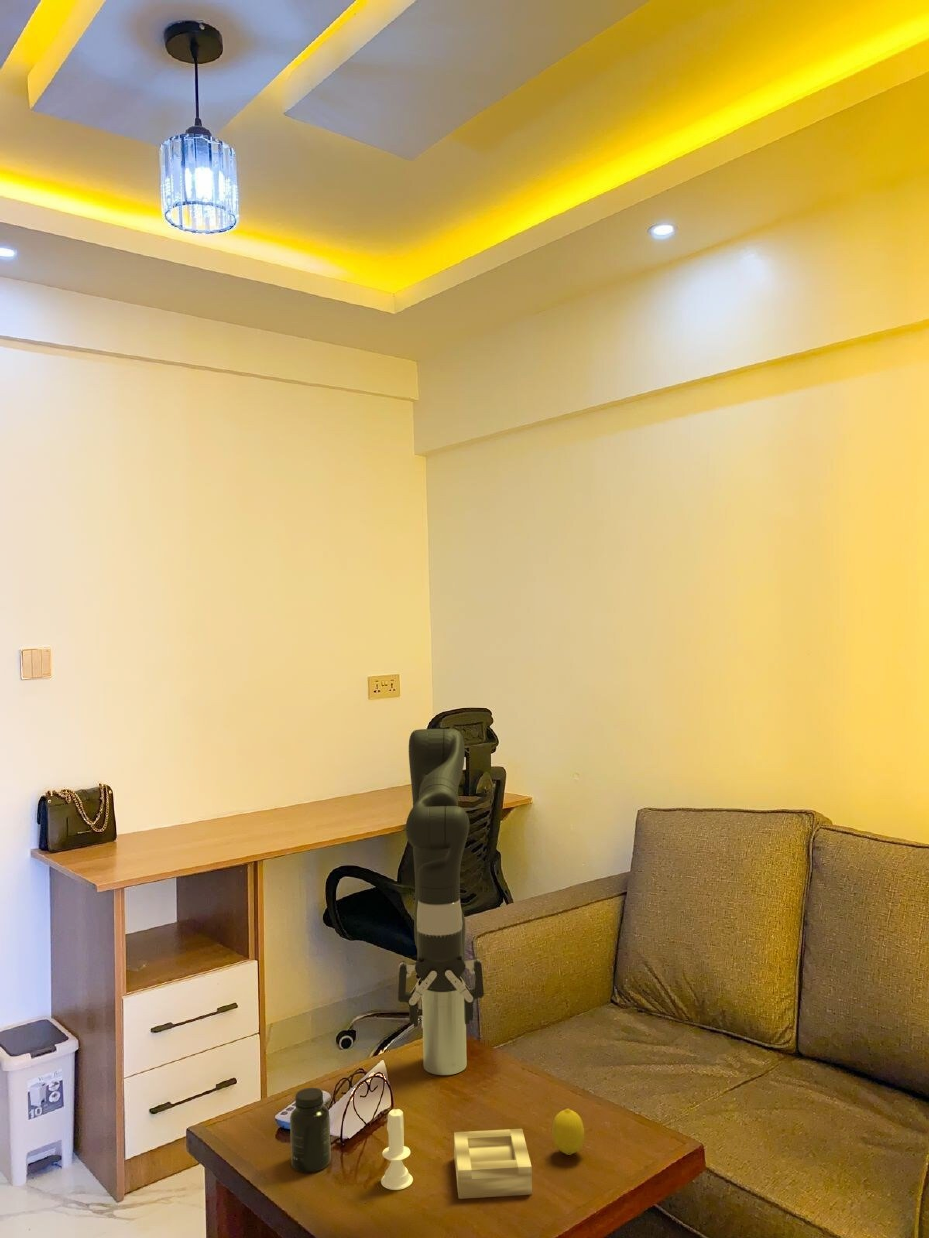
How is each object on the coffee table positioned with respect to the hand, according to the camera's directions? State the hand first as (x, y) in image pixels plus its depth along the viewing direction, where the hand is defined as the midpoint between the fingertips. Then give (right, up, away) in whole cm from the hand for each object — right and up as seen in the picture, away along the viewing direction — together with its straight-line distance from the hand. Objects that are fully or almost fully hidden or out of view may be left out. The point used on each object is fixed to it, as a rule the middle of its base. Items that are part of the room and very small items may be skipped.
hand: (441, 1024), depth 157 cm
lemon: (+22, -27, +8) cm, 35 cm away
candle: (-7, -27, +1) cm, 28 cm away
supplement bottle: (-23, -27, +7) cm, 36 cm away
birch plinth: (+8, -26, +2) cm, 28 cm away
